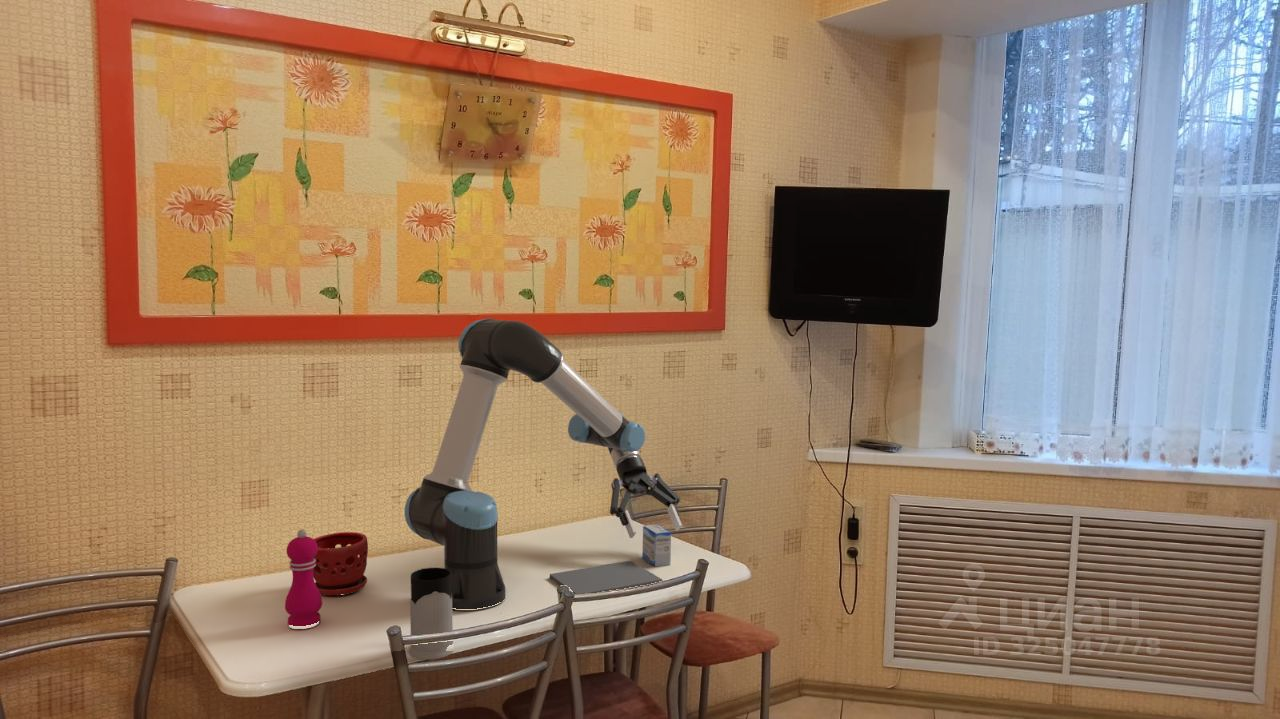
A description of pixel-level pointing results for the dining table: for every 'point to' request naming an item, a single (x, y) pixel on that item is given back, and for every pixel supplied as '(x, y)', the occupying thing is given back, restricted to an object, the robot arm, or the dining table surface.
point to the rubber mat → (605, 577)
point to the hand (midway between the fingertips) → (656, 531)
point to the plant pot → (340, 563)
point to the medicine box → (656, 545)
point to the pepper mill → (303, 582)
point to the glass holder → (431, 610)
